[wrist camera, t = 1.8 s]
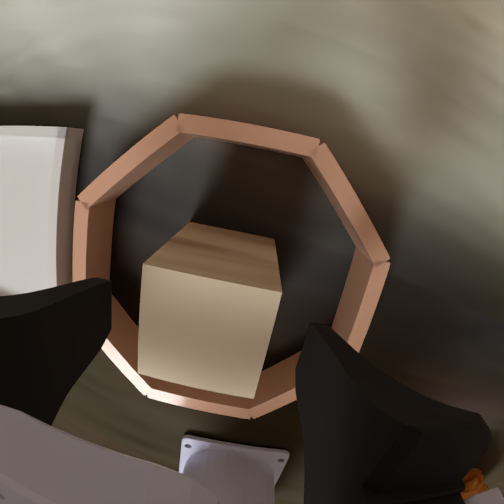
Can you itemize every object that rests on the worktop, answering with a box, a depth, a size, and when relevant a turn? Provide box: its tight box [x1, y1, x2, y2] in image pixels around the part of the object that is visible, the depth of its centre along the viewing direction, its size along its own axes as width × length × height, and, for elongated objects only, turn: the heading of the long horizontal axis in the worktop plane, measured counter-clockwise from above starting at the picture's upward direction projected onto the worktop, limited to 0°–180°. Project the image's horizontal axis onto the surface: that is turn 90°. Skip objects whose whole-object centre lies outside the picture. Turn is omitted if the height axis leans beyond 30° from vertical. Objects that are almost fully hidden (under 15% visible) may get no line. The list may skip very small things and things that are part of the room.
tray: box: [0, 126, 84, 296], centre depth 16 cm, size 13×10×2 cm
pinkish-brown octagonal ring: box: [73, 113, 391, 419], centre depth 16 cm, size 15×15×3 cm
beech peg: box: [138, 222, 282, 399], centre depth 14 cm, size 4×4×7 cm
